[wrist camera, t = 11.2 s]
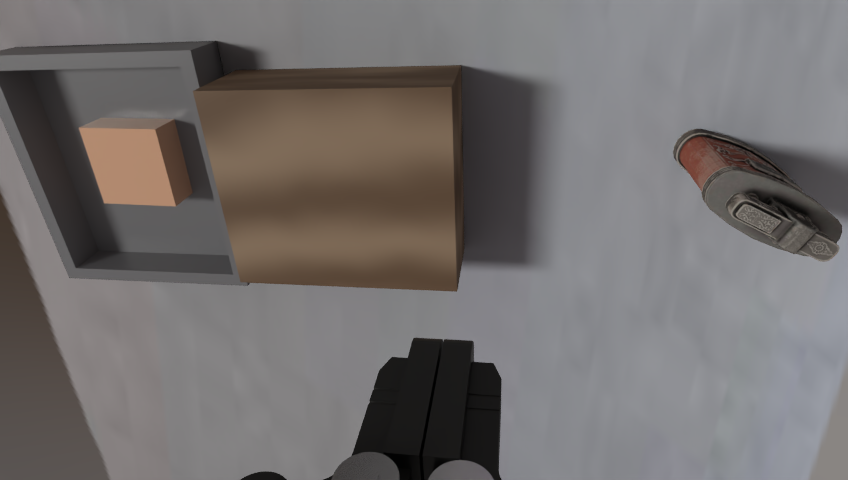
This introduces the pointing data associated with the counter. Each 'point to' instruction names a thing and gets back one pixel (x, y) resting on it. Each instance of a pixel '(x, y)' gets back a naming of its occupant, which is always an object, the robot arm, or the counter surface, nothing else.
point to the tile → (137, 161)
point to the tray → (72, 172)
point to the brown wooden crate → (340, 174)
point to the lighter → (757, 195)
